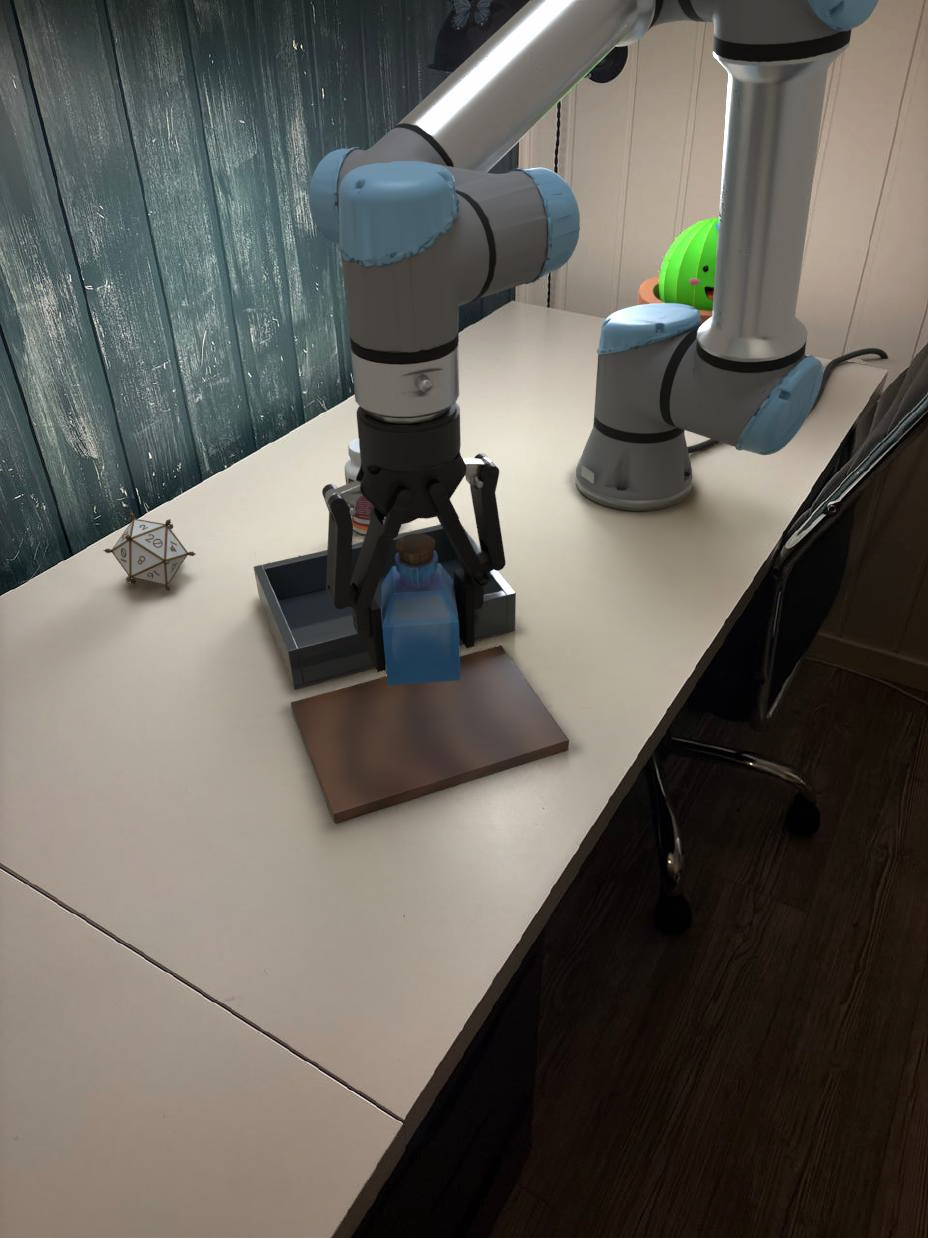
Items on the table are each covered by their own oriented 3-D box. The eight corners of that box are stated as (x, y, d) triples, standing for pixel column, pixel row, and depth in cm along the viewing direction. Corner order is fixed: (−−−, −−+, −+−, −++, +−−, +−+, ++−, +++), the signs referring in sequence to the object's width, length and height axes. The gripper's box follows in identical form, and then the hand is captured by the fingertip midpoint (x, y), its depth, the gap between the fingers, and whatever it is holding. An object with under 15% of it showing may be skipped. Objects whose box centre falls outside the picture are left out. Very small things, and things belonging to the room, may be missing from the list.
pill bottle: (408, 527, 115) (403, 447, 108) (365, 542, 112) (357, 461, 106) (384, 506, 119) (377, 428, 112) (341, 521, 116) (332, 441, 110)
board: (501, 653, 94) (501, 644, 94) (568, 749, 83) (569, 740, 83) (291, 711, 88) (290, 702, 87) (334, 823, 77) (333, 814, 76)
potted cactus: (630, 348, 162) (644, 196, 147) (758, 352, 160) (785, 198, 145) (631, 399, 145) (647, 232, 130) (774, 404, 142) (807, 235, 127)
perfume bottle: (386, 640, 83) (376, 526, 76) (454, 635, 83) (451, 521, 76) (387, 685, 78) (377, 567, 71) (460, 680, 78) (457, 562, 71)
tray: (458, 555, 109) (458, 520, 107) (515, 630, 98) (516, 592, 95) (260, 602, 102) (253, 566, 99) (294, 689, 90) (287, 651, 88)
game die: (181, 601, 109) (221, 538, 105) (135, 619, 101) (176, 552, 98) (126, 552, 110) (164, 488, 106) (77, 566, 102) (115, 497, 98)
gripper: (281, 450, 60) (319, 708, 74) (557, 398, 66) (545, 645, 80) (257, 407, 66) (296, 654, 80) (514, 363, 72) (509, 600, 86)
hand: (421, 649), depth 80 cm, fingers closed on perfume bottle, 7 cm apart
